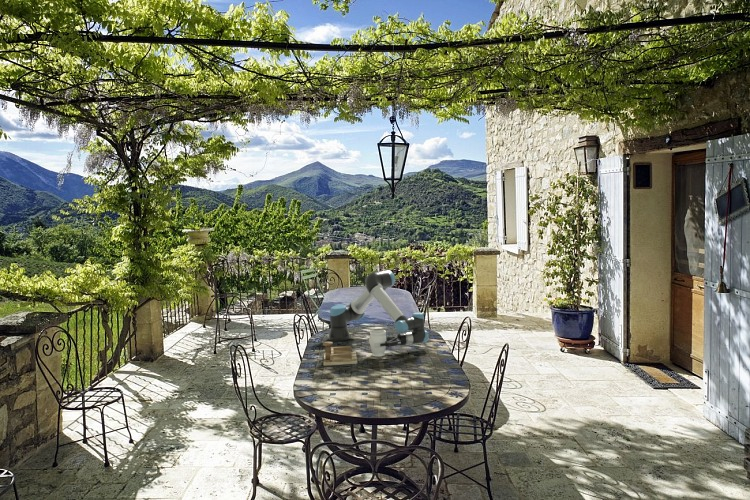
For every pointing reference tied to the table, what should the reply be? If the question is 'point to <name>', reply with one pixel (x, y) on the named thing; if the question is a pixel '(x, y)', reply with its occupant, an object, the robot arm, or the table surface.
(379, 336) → the jar
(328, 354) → the tan wooden platform
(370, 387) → the table surface
